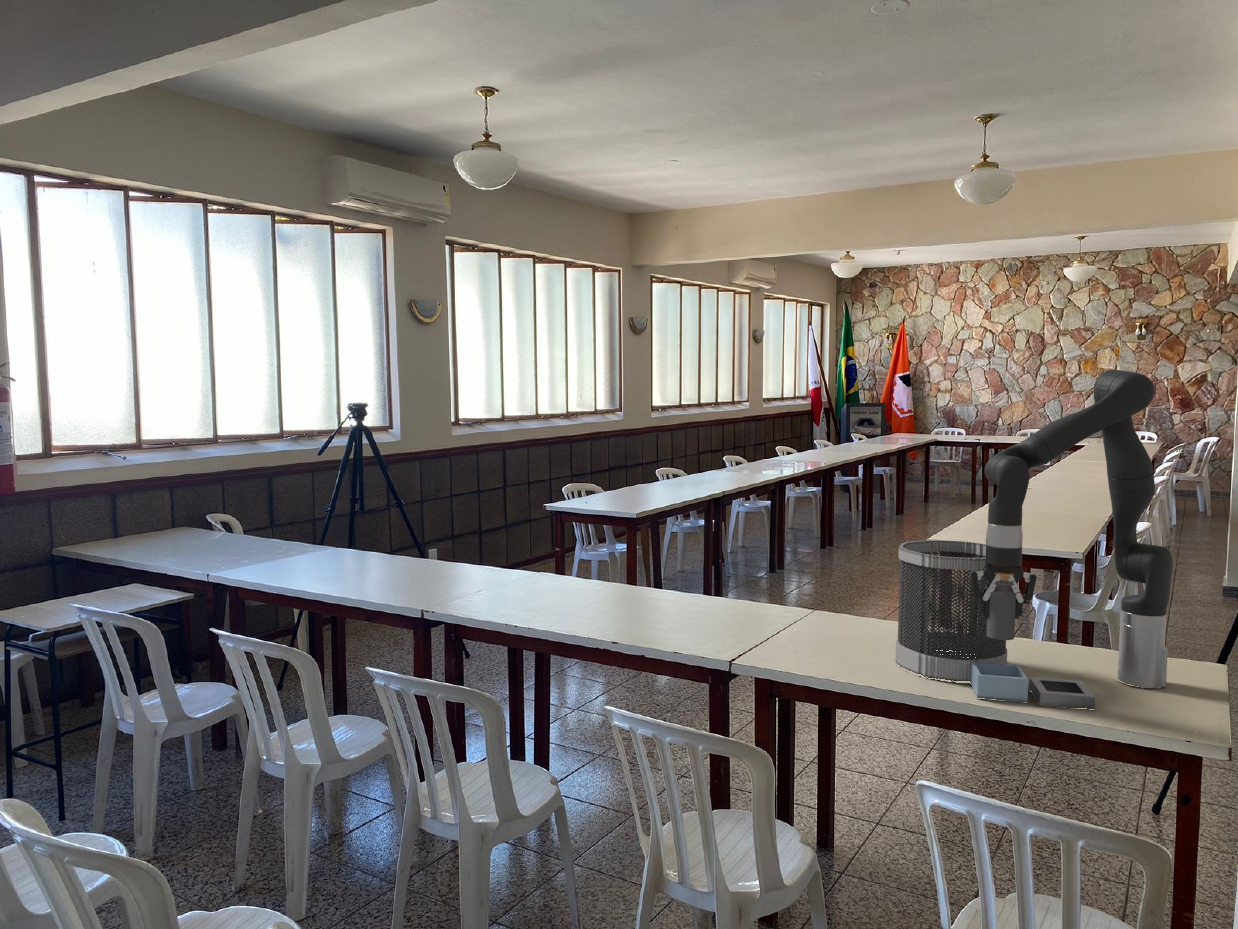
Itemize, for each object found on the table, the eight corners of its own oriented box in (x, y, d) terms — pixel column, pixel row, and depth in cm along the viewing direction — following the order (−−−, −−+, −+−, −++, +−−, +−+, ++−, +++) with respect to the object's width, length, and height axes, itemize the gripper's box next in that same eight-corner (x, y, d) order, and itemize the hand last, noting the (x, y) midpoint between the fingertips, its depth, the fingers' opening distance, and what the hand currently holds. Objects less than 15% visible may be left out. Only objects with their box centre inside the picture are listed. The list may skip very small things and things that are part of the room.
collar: (1081, 693, 201) (1081, 681, 201) (1094, 710, 191) (1095, 697, 190) (1029, 689, 204) (1029, 677, 204) (1039, 706, 193) (1040, 692, 193)
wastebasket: (954, 648, 237) (958, 538, 235) (1028, 676, 214) (1033, 554, 211) (876, 658, 228) (879, 543, 226) (945, 688, 205) (949, 561, 202)
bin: (1017, 688, 205) (1018, 665, 205) (1027, 703, 195) (1028, 679, 194) (970, 684, 207) (971, 661, 207) (977, 699, 197) (978, 675, 197)
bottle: (1019, 638, 199) (1022, 572, 198) (1004, 641, 196) (1007, 575, 195) (996, 632, 204) (999, 568, 203) (980, 635, 201) (983, 570, 200)
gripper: (972, 545, 196) (970, 619, 198) (1042, 548, 193) (1039, 623, 194) (967, 539, 204) (965, 611, 205) (1034, 542, 200) (1032, 615, 202)
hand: (1001, 616), depth 200 cm, fingers closed on bottle, 5 cm apart
